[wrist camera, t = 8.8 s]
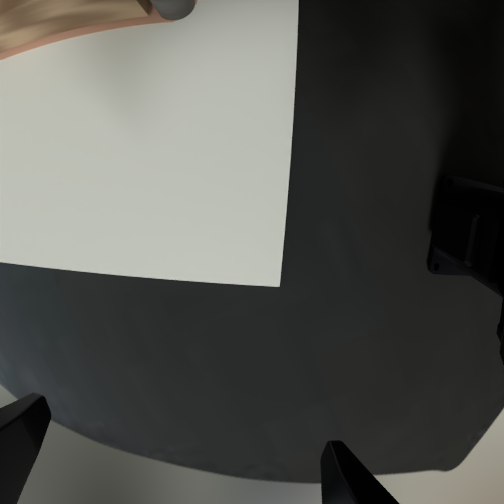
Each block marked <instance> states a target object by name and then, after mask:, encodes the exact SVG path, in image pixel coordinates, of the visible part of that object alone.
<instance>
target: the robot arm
mask: <svg viewBox="0 0 504 504" xmlns="http://www.w3.org/2000/svg"><path fill="white" fill-rule="evenodd" d="M448 179H449V180H450V184H449V185H447V180H448ZM503 185H504V181H503ZM431 244H432V245H431V250H430V255H429V260H428V267H427V268H428V270H429V271H430V272H431V273H433V274H442V275H466V276H471V277H473V278H474V279H476V280H478V281H479V282H481V283H482V284H484V285H485V286H487V287H488V288H490V289H491V290H493V291H494V292H496V293H497V294H499V295H500V296H501V297H503V302H502V310H501V317H500V323H499V324H498V327H497V335H498V337H499V339H500V342H501V346H500V355H501V358H502V361H503V365H504V188H502V187H498V186H495V185H491V184H487V183H483V182H479V181H475V180H471V179H467V178H463V177H459V176H454V175H449V174H445V175H443V177H442V178H441V184H440V192H439V201H438V206H437V208H436V215H435V222H434V228H433V234H432V240H431ZM436 263H437V265H436V267H435V268H434V269H433V266H434V265H435V264H436ZM50 420H51V411H50V409H49V406H48V404H47V401H46V399H45V397H44V396H43V395H40V394H37V393H31V394H29V395H27V396H25V397H23V398H21V399H19V400H17V401H15V402H13V403H11V404H9V405H6V406H4V407H2V408H0V504H17V502H18V500H19V497H20V495H21V492H22V490H23V488H24V485H25V483H26V481H27V478H28V476H29V474H30V472H31V469H32V467H33V465H34V463H35V460H36V458H37V456H38V454H39V451H40V449H41V446H42V442H43V439H44V436H45V434H46V431H47V428H48V425H49V423H50ZM320 464H321V486H322V487H321V490H322V504H399V503H398V502H397V501H396V499H394V497H393V496H392V495H391V494H390V493H389V492H388V491H387V490H386V489H385V488H384V487H383V486H382V485H381V484H380V483H379V481H378V480H376V478H375V477H374V476H373V475H372V474H371V473H370V472H369V471H368V469H367V468H366V467H365V466H364V465H363V464H362V463H361V462H360V461H359V460H358V458H357V457H356V456H355V455H354V454H353V453H352V452H351V451H350V450H349V448H348V447H347V446H346V445H345V444H344V443H343V442H342V441H340V440H336V441H328V442H327V444H326V446H325V448H324V451H323V453H322V456H321V461H320Z"/></svg>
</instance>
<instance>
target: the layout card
mask: <svg viewBox="0 0 504 504" xmlns="http://www.w3.org/2000/svg"><path fill="white" fill-rule="evenodd" d="M298 5H299V0H195V7H194V9H193V11H192V12H191V13H190V14H189V15H188V16H186V17H185V18H183V19H180V20H175V21H174V20H166V19H164V18H162V17H161V16H160V14H159V13H158V11H157V10H156V8H155V7H154V6H153V4H152V3H151V8H150V13H149V16H146V17H138V18H130V19H124V20H117V21H112V22H106V23H101V24H96V25H91V26H86V27H82V28H78V29H73V30H69V31H65V32H62V33H58V34H54V35H51V36H47V37H44V38H41V39H38V40H35V41H31V42H28V43H25V44H23V45H20V46H17V47H14V48H11V49H9V50H6V51H4V52H1V53H0V262H5V263H12V264H21V265H29V266H37V267H46V268H55V269H64V270H73V271H83V272H93V273H103V274H113V275H124V276H135V277H147V278H159V279H171V280H184V281H197V282H211V283H226V284H242V285H258V286H276V287H279V286H280V276H281V266H282V256H283V245H284V234H285V222H286V210H287V198H288V186H289V172H290V159H291V145H292V130H293V114H294V97H295V78H296V57H297V34H298Z"/></svg>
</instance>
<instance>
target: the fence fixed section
mask: <svg viewBox="0 0 504 504" xmlns="http://www.w3.org/2000/svg"><path fill="white" fill-rule="evenodd" d="M150 1H151V3H152V4H153V6H154V7H155V8H156V10H157V11H158V13H159V14H160V16H161V17H162V18H164V19H166V20H174V21H175V20H180V19H183V18H185V17H186V16H188V15H189V14H190V13H191V12H192V11H193V9H194V7H195V0H150Z"/></svg>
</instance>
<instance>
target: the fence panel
mask: <svg viewBox="0 0 504 504" xmlns="http://www.w3.org/2000/svg"><path fill="white" fill-rule="evenodd" d="M150 8H151V1H150V0H0V53H1V52H4V51H6V50H9V49H11V48H14V47H17V46H20V45H23V44H25V43H28V42H31V41H35V40H38V39H41V38H44V37H47V36H51V35H54V34H58V33H62V32H65V31H69V30H73V29H78V28H82V27H86V26H91V25H96V24H101V23H106V22H112V21H117V20H124V19H130V18H138V17H146V16H149V13H150Z"/></svg>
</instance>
